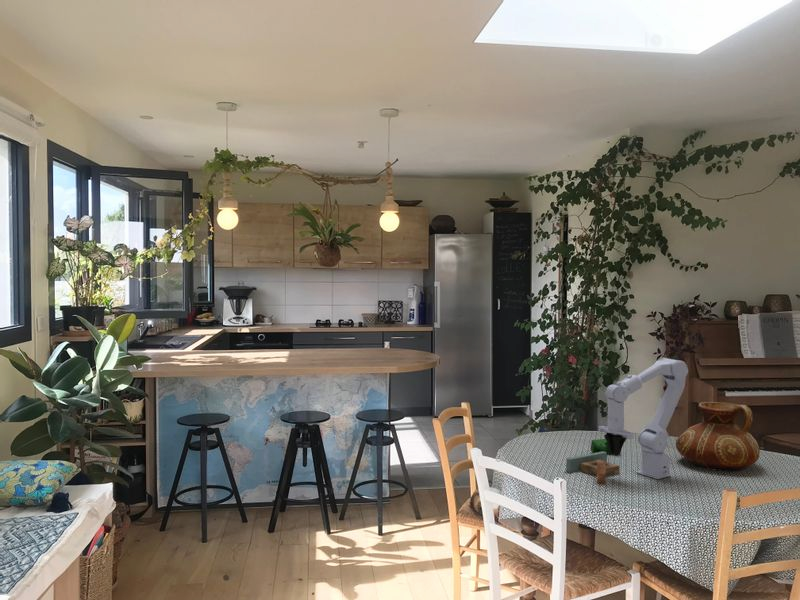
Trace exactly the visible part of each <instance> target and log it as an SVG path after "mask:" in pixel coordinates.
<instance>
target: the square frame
mask: <svg viewBox="0 0 800 600" xmlns="http://www.w3.org/2000/svg"><path fill="white" fill-rule="evenodd" d="M597 462H605V461H602V460H594V461H588V462H583V463H580V471H579V472H582V473H585V474H588V475H591V476H594V477H597ZM605 463H606V477H610V476H615V474H616V475H619V474H620V465H618V464H615V463H611V462H608V461H607V462H605Z"/></svg>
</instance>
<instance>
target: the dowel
mask: <svg viewBox="0 0 800 600" xmlns="http://www.w3.org/2000/svg"><path fill="white" fill-rule="evenodd" d="M606 477H607V476H606V463H605V462H597V476H596V483H598V484H606V480H607V479H606Z"/></svg>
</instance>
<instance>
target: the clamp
mask: <svg viewBox="0 0 800 600" xmlns="http://www.w3.org/2000/svg"><path fill="white" fill-rule="evenodd" d="M589 450H590V452H591V453H597V452H602V451H603V452H607V454H610V450H609V446H608V443H607V441H606V439H605V438H601V439H600V438H599V439H591V445H590V449H589ZM608 452H609V453H608ZM613 455H614V456H616V455H615V454H613Z"/></svg>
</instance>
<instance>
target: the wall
mask: <svg viewBox="0 0 800 600" xmlns="http://www.w3.org/2000/svg"><path fill="white" fill-rule="evenodd" d="M607 457H608V453H607V452H603V451H602V452H597V453H593V452H591V453H587V454H582V455H577V456H571V457H567V458H565V459H566V460H565V461H566V464H565V467H566V468H565V469H566V470H565V471H566V472H567V473H570V474H571V473H575V472H581V471H580V463H583V462H588V461H594V460H602V461H605V462H608V458H607Z"/></svg>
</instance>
